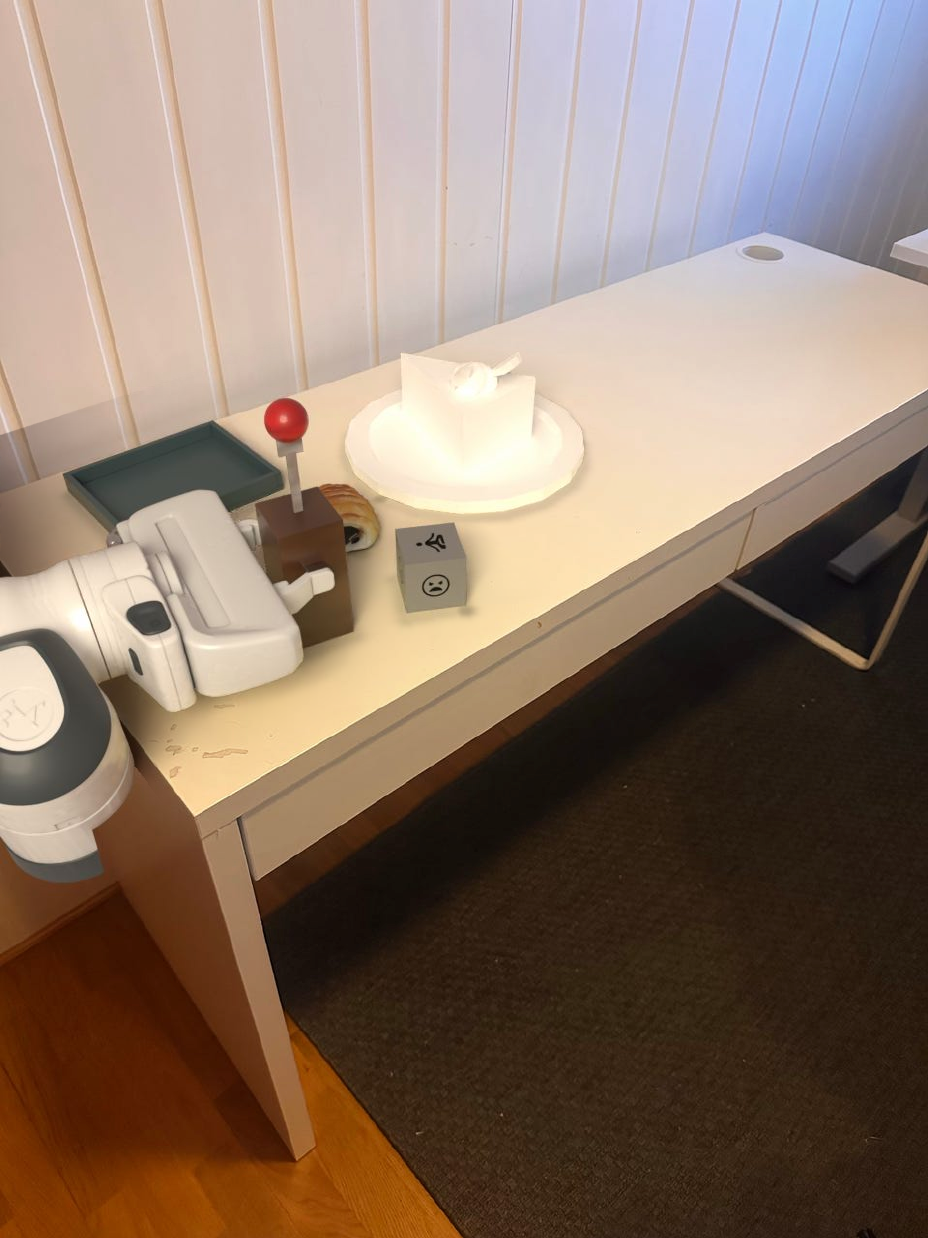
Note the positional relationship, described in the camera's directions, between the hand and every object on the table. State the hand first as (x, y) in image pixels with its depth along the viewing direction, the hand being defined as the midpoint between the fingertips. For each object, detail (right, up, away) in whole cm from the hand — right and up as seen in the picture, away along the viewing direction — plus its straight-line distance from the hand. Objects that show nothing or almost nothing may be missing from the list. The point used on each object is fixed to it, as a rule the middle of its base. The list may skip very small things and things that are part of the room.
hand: (315, 551), depth 69 cm
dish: (+12, +13, +26) cm, 31 cm away
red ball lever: (-1, -6, +4) cm, 7 cm away
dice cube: (+9, -3, +8) cm, 12 cm away
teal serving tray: (-17, +7, +19) cm, 26 cm away
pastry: (0, +3, +14) cm, 14 cm away
